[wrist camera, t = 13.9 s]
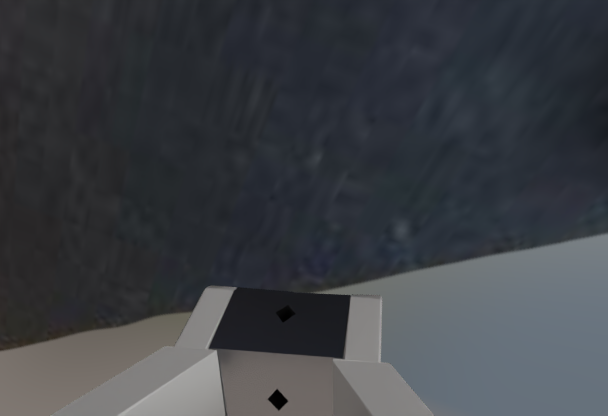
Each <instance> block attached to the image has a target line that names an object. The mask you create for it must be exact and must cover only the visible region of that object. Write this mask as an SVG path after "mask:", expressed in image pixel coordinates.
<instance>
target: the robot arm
mask: <svg viewBox="0 0 608 416" xmlns="http://www.w3.org/2000/svg"><path fill="white" fill-rule="evenodd" d="M381 324H382V298H381V296H380V295H353V294H352V295H335V294H315V293H295V292H289V291H277V290H265V289H252V288H240V287H238V288H236V287H224V286H209V287H207V288H206V289H205V290H204V291H203V293H202V295H201V297H200V299H199V301H198V303H197V304H196V306H195V308H194V310H193V312H192V314H191V316H190V317H189V319H188V321H187V323H186V325H185V327H184V329H183V330H182V332H181V334H180V336H179V338H178V340H177V342H176V344H175V346H174V347H172V346H165V347H163V348H161V349H160V350H158V351H156V352H155V353H153V354H151V355H150V356H148V357H146V358H145V359H143V360H141V361H140V362H138V363H136V364H135V365H133V366H131V367H130V368H128V369H126V370H125V371H123V372H122V373H120V374H118V375H117V376H115V377H113V378H111V379H110V380H108V381H106V382H105V383H103V384H102V385H100V386H98V387H97V388H95V389H93V390H92V391H90V392H88V393H87V394H85V395H83V396H82V397H80V398H78V399H77V400H75V401H73V402H72V403H70V404H68V405H67V406H65V407H63V408H62V409H60V410H58V411H57V412H55V413H53V414H52V415H50V416H434V415H433V413H432V412H431V411H430V410H429V409H428V407H427V406H426V405H425V404H424V403H423V402H422V400H421V399H420V398H419V397H418V396H417V395H416V393H415V392H414V391H413V390H412V389H411V388H410V386H409V385H408V384H407V383H406V382H405V380H404V379H403V378H402V377H401V376H400V375H399V373H398V372H397V371H396V370H395V369H394V368H393V367H392V365H391V364H390V363H382V362H381Z"/></svg>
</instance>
